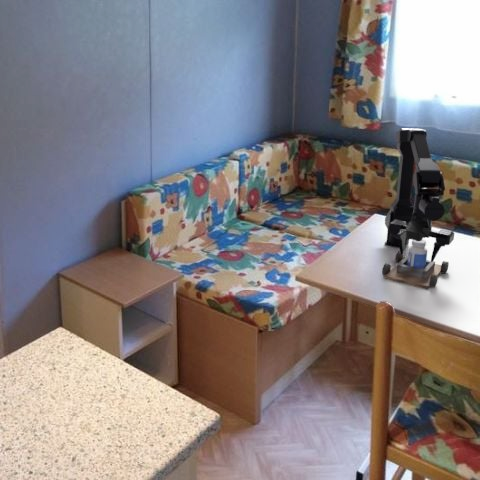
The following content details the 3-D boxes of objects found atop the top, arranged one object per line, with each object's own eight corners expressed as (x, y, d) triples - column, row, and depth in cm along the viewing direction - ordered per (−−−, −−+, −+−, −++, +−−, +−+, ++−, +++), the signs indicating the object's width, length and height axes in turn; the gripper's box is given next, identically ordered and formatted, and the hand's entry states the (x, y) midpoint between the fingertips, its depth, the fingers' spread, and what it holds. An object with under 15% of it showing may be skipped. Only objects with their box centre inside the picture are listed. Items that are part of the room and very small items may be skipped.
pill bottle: (427, 270, 207) (432, 241, 204) (419, 275, 203) (423, 245, 200) (412, 265, 211) (415, 236, 207) (403, 270, 207) (406, 240, 203)
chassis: (380, 277, 204) (381, 266, 202) (399, 258, 218) (400, 248, 217) (432, 290, 196) (433, 279, 195) (448, 269, 211) (450, 259, 209)
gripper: (383, 210, 198) (378, 259, 203) (447, 223, 189) (440, 274, 195) (396, 201, 207) (390, 248, 212) (458, 212, 198) (450, 261, 203)
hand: (417, 258), depth 205 cm, fingers open, 9 cm apart
